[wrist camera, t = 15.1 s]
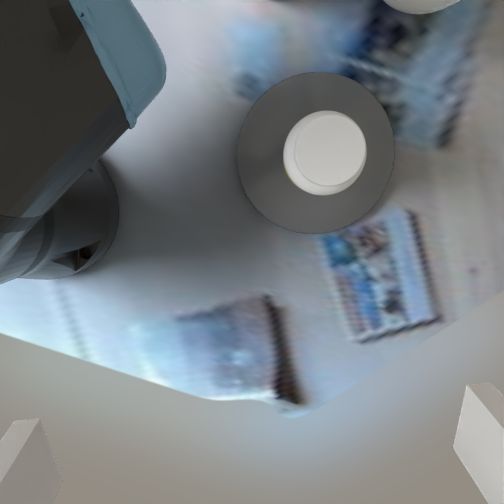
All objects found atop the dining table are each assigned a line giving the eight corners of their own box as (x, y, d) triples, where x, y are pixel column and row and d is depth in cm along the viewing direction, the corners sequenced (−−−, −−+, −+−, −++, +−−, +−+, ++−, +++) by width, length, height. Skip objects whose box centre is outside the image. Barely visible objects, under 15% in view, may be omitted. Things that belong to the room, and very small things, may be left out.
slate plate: (241, 233, 38) (240, 235, 37) (234, 81, 35) (232, 76, 34) (387, 229, 37) (391, 231, 36) (392, 71, 34) (398, 66, 33)
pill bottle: (332, 113, 34) (357, 83, 23) (357, 174, 35) (393, 172, 24) (271, 143, 35) (268, 127, 24) (298, 202, 36) (306, 212, 25)
